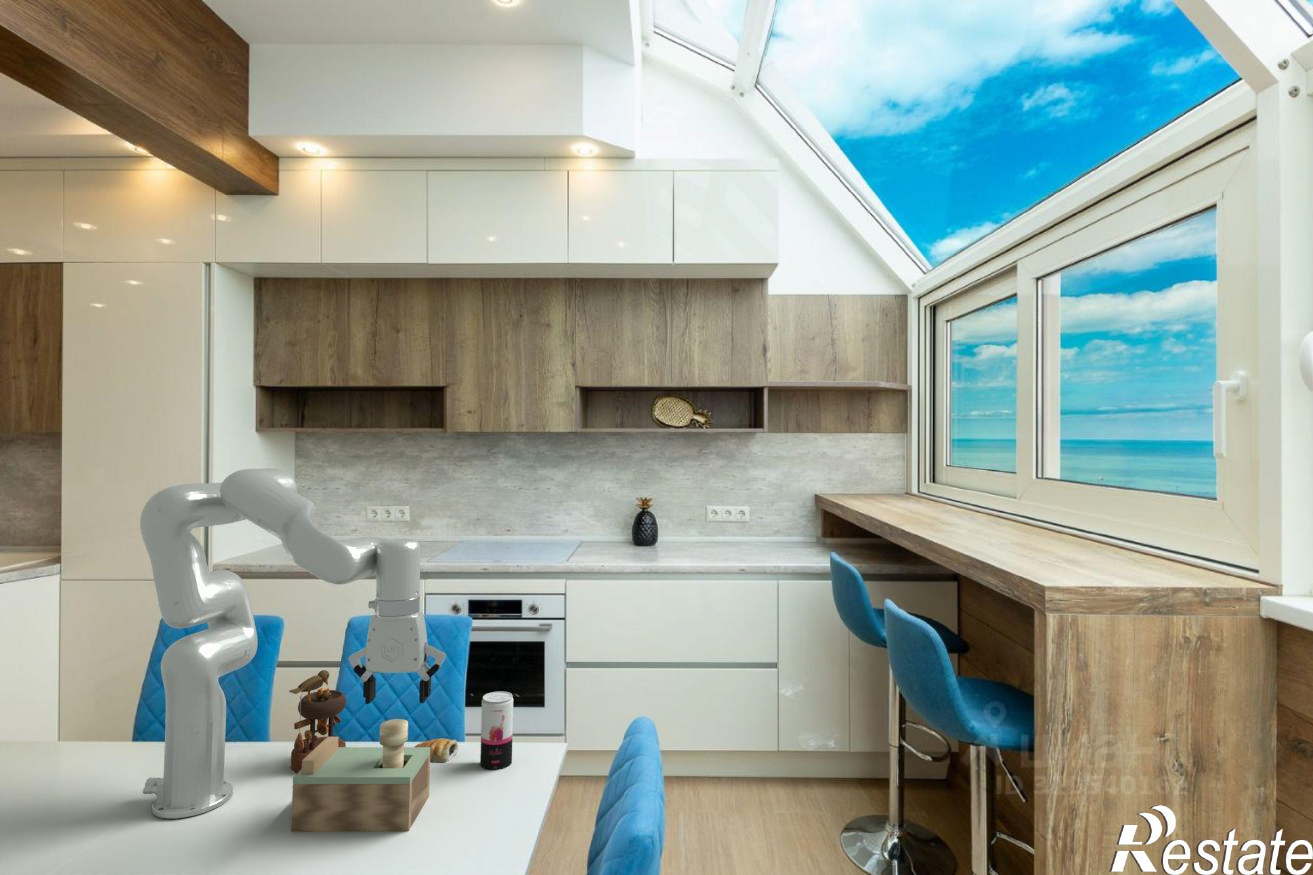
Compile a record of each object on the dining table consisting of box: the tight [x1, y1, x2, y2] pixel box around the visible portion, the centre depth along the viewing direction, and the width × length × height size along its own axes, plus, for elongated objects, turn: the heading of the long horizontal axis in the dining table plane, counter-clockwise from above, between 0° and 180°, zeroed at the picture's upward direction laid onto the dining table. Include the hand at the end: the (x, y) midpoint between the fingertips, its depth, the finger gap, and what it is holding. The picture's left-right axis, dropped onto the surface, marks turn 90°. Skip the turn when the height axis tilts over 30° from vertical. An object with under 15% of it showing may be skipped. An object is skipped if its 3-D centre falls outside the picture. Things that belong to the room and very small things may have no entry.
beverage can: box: [479, 690, 514, 771], centre depth 143 cm, size 6×6×15 cm
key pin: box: [379, 718, 409, 768], centre depth 123 cm, size 5×5×16 cm
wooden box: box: [290, 755, 431, 833], centre depth 123 cm, size 20×12×9 cm, turn 92°
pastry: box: [414, 738, 459, 764], centre depth 149 cm, size 9×7×4 cm
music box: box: [288, 669, 347, 774], centre depth 145 cm, size 15×11×20 cm
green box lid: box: [292, 736, 430, 785], centre depth 123 cm, size 20×12×4 cm, turn 92°
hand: (397, 700), depth 123 cm, fingers open, 9 cm apart
